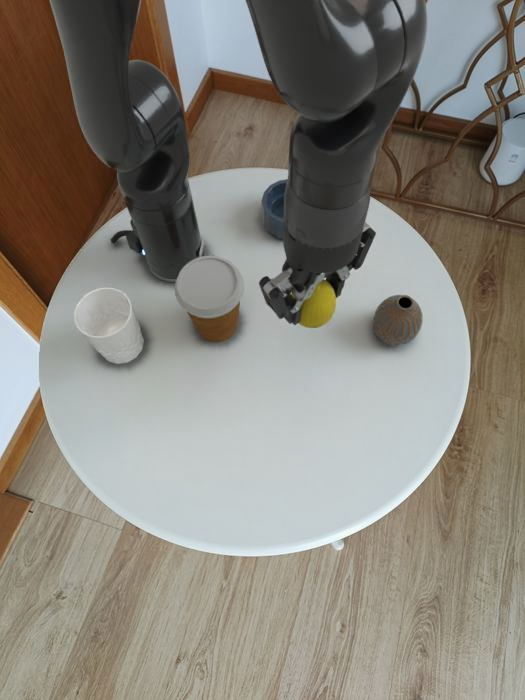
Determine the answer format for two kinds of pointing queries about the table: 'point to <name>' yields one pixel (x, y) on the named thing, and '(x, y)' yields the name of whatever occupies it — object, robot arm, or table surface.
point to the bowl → (274, 208)
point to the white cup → (110, 324)
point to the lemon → (318, 306)
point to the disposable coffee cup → (211, 296)
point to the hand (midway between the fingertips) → (312, 304)
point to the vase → (398, 320)
